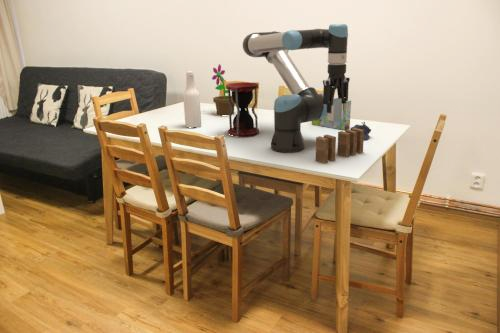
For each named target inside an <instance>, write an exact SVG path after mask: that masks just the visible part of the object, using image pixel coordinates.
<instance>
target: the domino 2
mask: <svg viewBox="0 0 500 333" xmlns="http://www.w3.org/2000/svg"><path fill="white" fill-rule="evenodd" d="M334 98H335V99H333V103H332V105H334V111H333V121H330V120H329V123H337V122H341V104H342V98H338V97H334Z"/></svg>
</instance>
